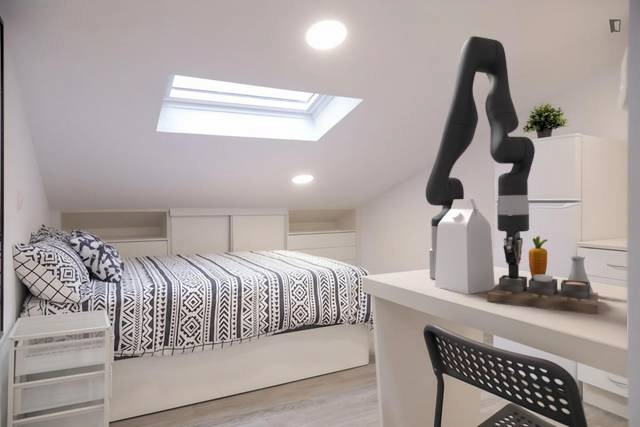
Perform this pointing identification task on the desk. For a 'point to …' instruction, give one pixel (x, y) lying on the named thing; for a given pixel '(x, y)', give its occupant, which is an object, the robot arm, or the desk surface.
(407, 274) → the desk surface
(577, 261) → the flask
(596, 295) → the button board
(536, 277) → the grey button
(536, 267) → the carrot
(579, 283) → the terracotta button
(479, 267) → the milk
